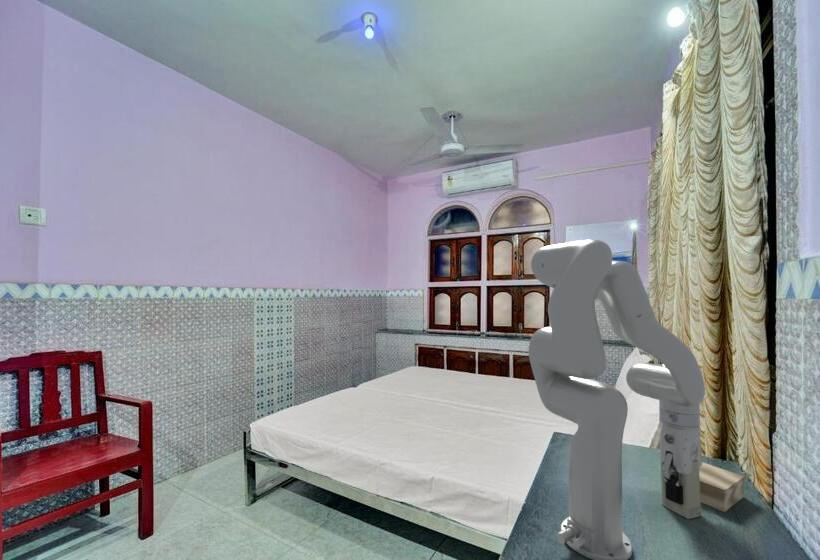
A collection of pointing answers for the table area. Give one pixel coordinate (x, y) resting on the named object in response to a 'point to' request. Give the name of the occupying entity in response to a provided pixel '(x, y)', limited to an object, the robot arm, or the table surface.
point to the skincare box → (685, 494)
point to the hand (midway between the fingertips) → (680, 496)
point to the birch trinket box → (720, 487)
